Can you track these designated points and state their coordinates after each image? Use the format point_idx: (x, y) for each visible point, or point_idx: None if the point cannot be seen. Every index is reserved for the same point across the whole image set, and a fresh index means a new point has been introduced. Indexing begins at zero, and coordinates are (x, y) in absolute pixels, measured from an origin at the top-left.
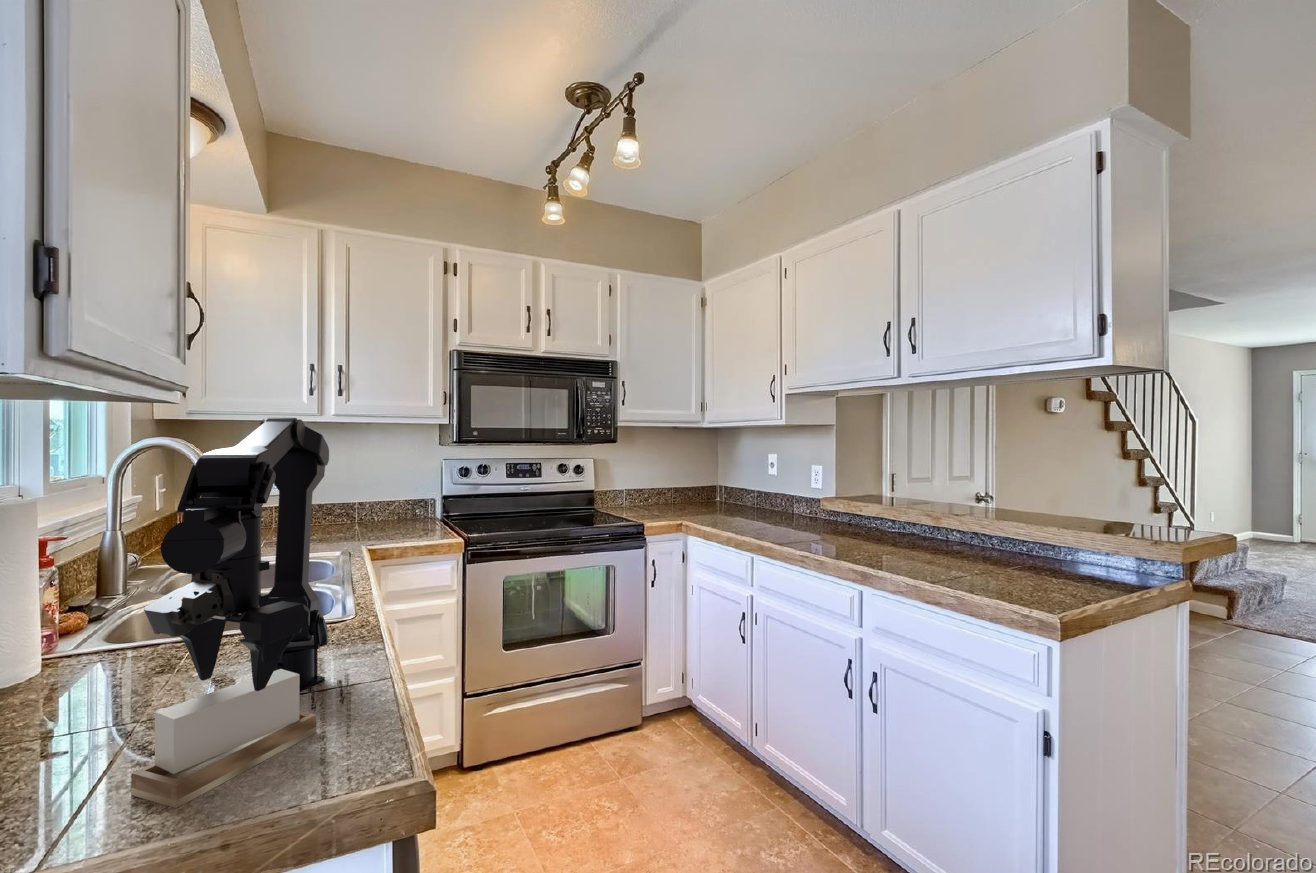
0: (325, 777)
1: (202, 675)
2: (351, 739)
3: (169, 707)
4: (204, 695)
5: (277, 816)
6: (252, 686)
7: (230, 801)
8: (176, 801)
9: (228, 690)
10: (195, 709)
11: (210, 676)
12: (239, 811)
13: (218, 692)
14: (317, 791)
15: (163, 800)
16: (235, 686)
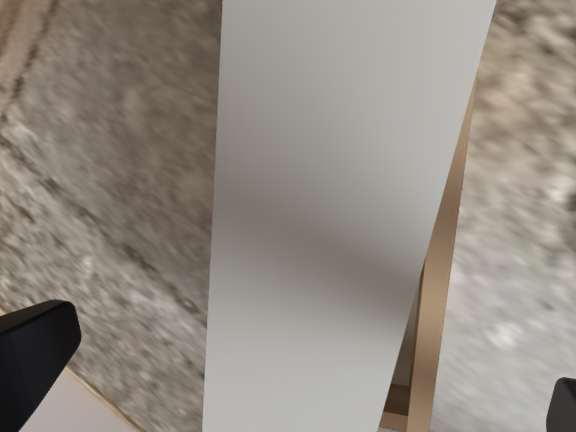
0: (69, 203)
1: (573, 407)
2: (168, 351)
3: (470, 37)
4: (414, 257)
5: (8, 42)
6: (263, 394)
7: (160, 44)
8: None
9: (337, 337)
10: (250, 83)
11: (549, 430)
12: (97, 20)
13: (366, 306)
14: (32, 152)
15: None
16: (354, 385)
